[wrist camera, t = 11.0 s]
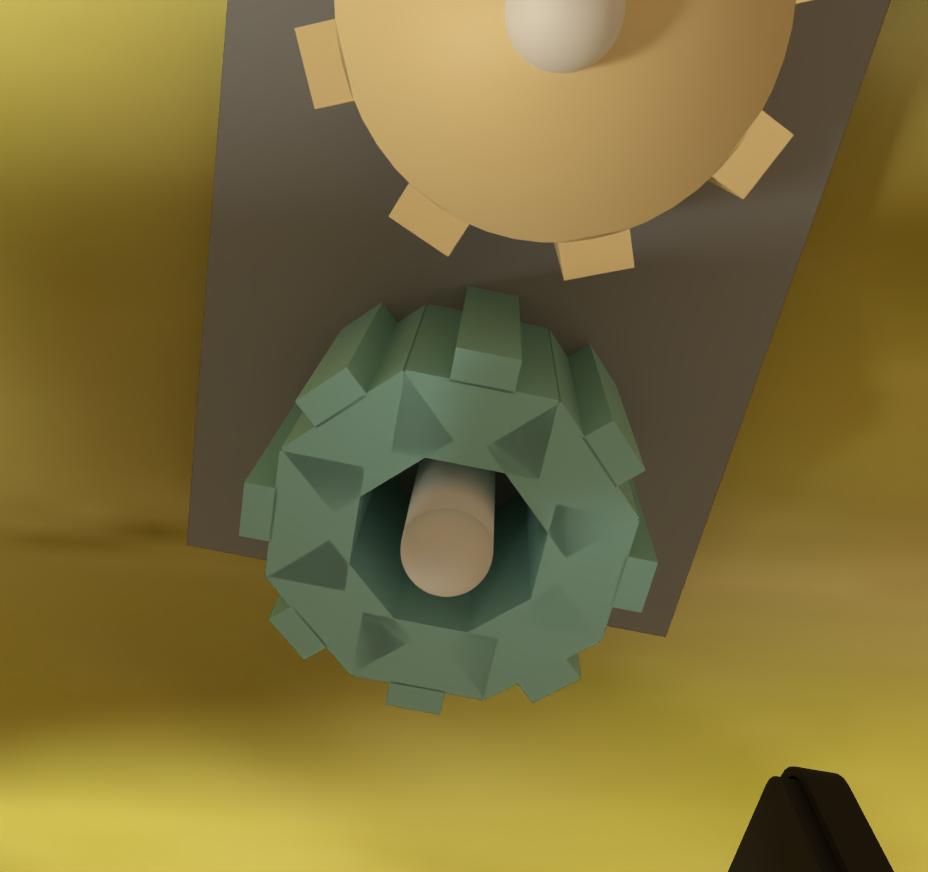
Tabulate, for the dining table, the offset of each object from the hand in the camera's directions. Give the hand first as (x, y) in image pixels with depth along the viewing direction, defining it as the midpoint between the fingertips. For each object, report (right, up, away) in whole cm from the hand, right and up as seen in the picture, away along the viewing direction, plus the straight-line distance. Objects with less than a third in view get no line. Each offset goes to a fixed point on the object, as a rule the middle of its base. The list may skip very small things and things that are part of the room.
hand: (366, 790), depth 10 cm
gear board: (+2, +9, +9) cm, 13 cm away
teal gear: (+1, +4, +9) cm, 10 cm away
